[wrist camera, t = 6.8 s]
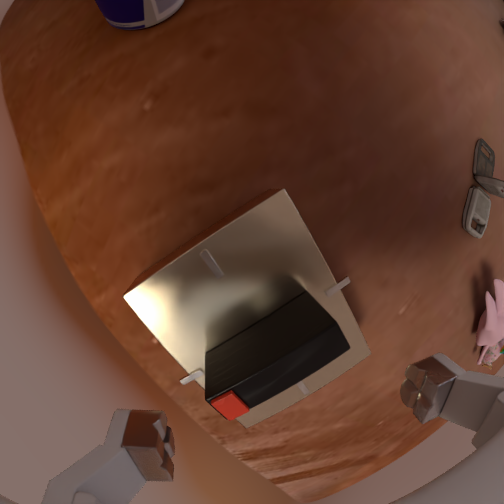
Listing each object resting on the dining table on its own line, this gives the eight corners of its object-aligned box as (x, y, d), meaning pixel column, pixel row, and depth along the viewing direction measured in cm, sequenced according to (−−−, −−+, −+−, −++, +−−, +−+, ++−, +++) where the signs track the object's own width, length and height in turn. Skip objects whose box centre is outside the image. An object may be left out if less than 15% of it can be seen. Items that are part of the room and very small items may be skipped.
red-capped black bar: (307, 290, 13) (339, 324, 10) (321, 313, 14) (354, 351, 10) (203, 354, 13) (204, 403, 10) (222, 374, 14) (227, 424, 10)
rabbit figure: (494, 330, 24) (493, 253, 18) (524, 352, 18) (541, 277, 12) (466, 368, 24) (457, 304, 18) (495, 393, 19) (508, 339, 12)
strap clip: (475, 239, 18) (511, 249, 14) (458, 227, 18) (497, 236, 13) (491, 153, 17) (525, 153, 13) (476, 136, 16) (512, 133, 12)
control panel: (128, 282, 15) (111, 303, 12) (279, 182, 15) (296, 180, 12) (233, 403, 18) (238, 434, 15) (357, 326, 18) (381, 349, 15)
